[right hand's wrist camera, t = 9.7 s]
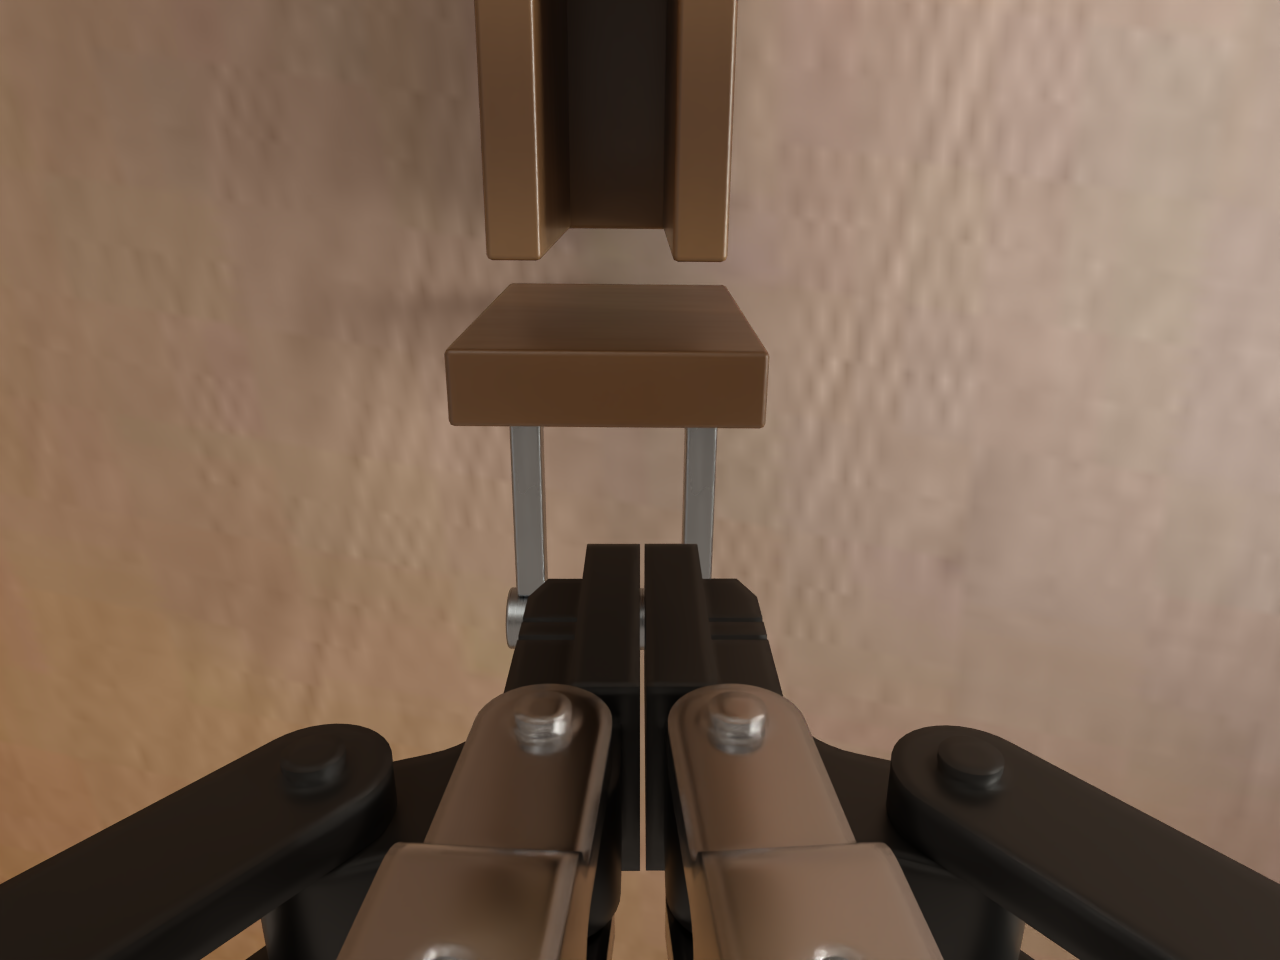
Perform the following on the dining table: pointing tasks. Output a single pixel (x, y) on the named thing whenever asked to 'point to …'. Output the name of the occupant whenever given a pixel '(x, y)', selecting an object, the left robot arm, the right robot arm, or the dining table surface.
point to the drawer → (618, 199)
